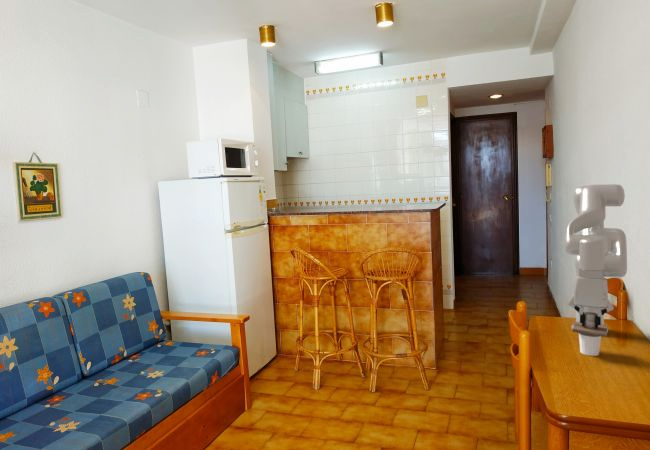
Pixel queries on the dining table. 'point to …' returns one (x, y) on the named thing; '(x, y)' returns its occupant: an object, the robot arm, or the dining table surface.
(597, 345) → the white cup
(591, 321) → the lid
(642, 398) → the dining table surface
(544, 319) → the dining table surface
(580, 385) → the dining table surface
